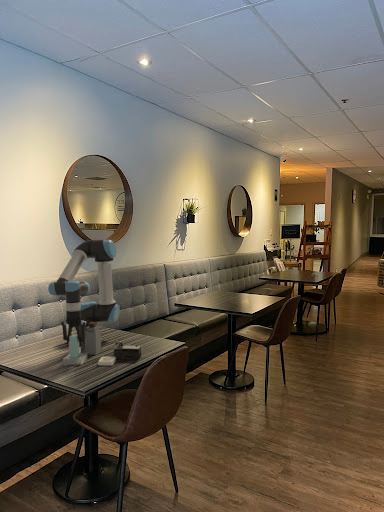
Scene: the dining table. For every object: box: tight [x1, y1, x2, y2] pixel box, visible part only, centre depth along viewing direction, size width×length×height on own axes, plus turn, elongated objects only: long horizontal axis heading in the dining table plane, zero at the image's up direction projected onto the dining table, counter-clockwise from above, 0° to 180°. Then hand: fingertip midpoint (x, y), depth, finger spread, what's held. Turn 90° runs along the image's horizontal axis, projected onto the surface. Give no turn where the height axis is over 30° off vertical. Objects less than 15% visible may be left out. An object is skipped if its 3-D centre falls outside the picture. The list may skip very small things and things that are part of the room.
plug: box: [69, 334, 80, 358], centre depth 215 cm, size 4×4×12 cm
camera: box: [113, 341, 142, 361], centre depth 221 cm, size 15×8×10 cm, turn 81°
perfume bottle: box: [84, 322, 102, 355], centre depth 230 cm, size 7×7×18 cm
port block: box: [62, 352, 88, 366], centre depth 216 cm, size 10×10×4 cm
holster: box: [97, 356, 117, 366], centre depth 213 cm, size 8×8×3 cm
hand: (75, 352), depth 216 cm, fingers closed on plug, 4 cm apart
